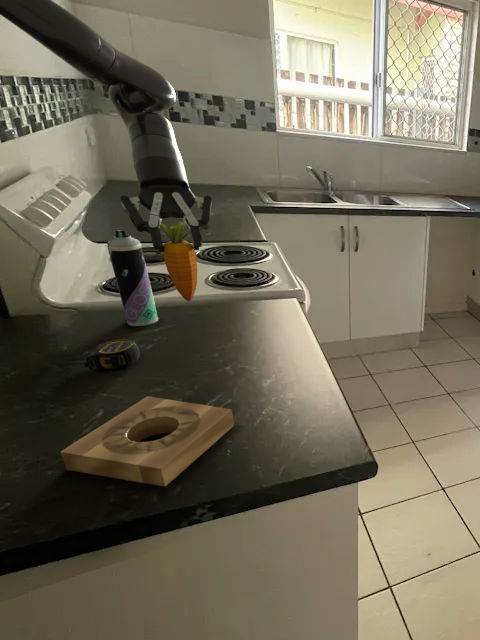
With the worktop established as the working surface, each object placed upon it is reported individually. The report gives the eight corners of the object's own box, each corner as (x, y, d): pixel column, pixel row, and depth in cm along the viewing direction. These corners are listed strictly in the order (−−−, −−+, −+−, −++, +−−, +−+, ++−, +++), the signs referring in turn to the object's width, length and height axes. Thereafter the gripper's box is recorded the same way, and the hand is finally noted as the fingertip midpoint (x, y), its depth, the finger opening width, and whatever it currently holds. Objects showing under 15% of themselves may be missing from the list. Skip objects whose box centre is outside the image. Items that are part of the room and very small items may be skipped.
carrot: (166, 302, 88) (148, 221, 82) (191, 294, 92) (176, 217, 86) (185, 308, 87) (169, 226, 80) (210, 300, 91) (196, 221, 84)
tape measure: (104, 356, 89) (98, 338, 87) (147, 354, 91) (142, 337, 89) (87, 374, 83) (81, 355, 81) (133, 372, 85) (128, 353, 83)
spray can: (134, 328, 100) (110, 234, 92) (122, 320, 103) (98, 229, 94) (163, 321, 104) (142, 230, 96) (151, 314, 107) (130, 225, 98)
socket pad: (66, 470, 62) (59, 451, 61) (151, 412, 75) (147, 396, 74) (165, 487, 61) (160, 468, 60) (234, 425, 74) (231, 409, 73)
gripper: (106, 152, 80) (125, 240, 77) (205, 156, 88) (226, 235, 85) (113, 179, 86) (131, 262, 82) (205, 181, 94) (225, 256, 91)
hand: (179, 248), depth 84 cm, fingers closed on carrot, 4 cm apart
